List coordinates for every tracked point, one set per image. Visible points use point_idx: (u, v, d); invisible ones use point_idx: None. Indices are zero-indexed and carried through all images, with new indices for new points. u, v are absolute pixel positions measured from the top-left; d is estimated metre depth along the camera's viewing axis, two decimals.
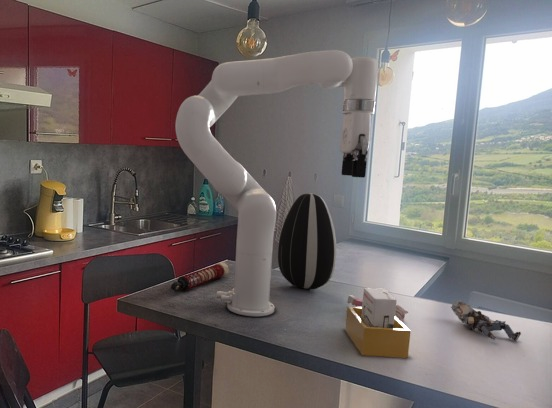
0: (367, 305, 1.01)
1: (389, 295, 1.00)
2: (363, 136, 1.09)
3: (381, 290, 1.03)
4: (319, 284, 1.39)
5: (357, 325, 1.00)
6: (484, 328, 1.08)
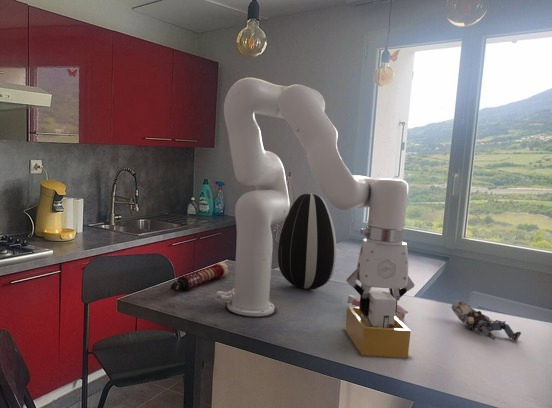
0: None
1: (389, 295, 0.99)
2: None
3: (381, 290, 1.03)
4: (319, 284, 1.39)
5: (357, 325, 1.00)
6: (484, 328, 1.08)
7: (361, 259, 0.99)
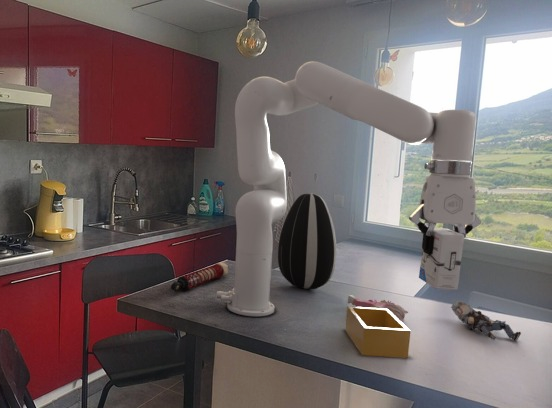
0: None
1: (455, 232, 0.96)
2: None
3: (444, 229, 0.99)
4: (319, 284, 1.39)
5: (357, 325, 1.00)
6: (484, 328, 1.08)
7: (426, 194, 0.95)
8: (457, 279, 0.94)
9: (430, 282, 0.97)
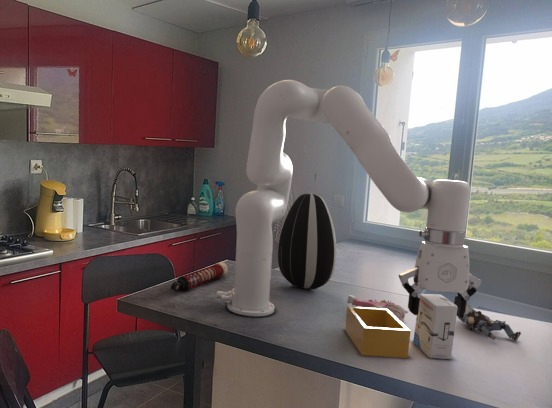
0: (424, 311, 0.99)
1: (448, 301, 0.97)
2: None
3: (438, 296, 1.01)
4: (319, 284, 1.39)
5: (357, 325, 1.00)
6: (484, 328, 1.08)
7: (420, 262, 0.97)
8: (450, 349, 0.96)
9: (424, 350, 0.98)
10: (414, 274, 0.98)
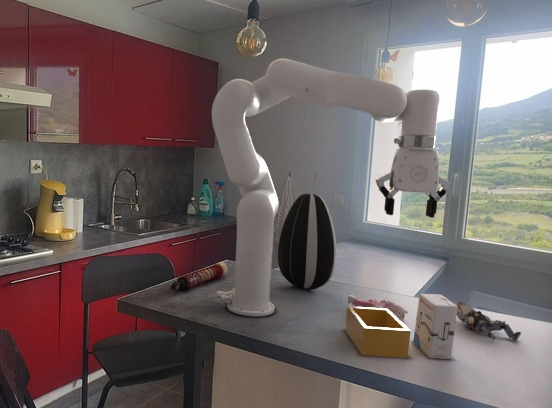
0: (424, 311, 0.99)
1: (448, 301, 0.97)
2: None
3: (438, 296, 1.01)
4: (319, 284, 1.39)
5: (357, 325, 1.00)
6: (484, 328, 1.08)
7: (395, 166, 1.07)
8: (450, 349, 0.96)
9: (424, 350, 0.98)
10: (389, 178, 1.07)
